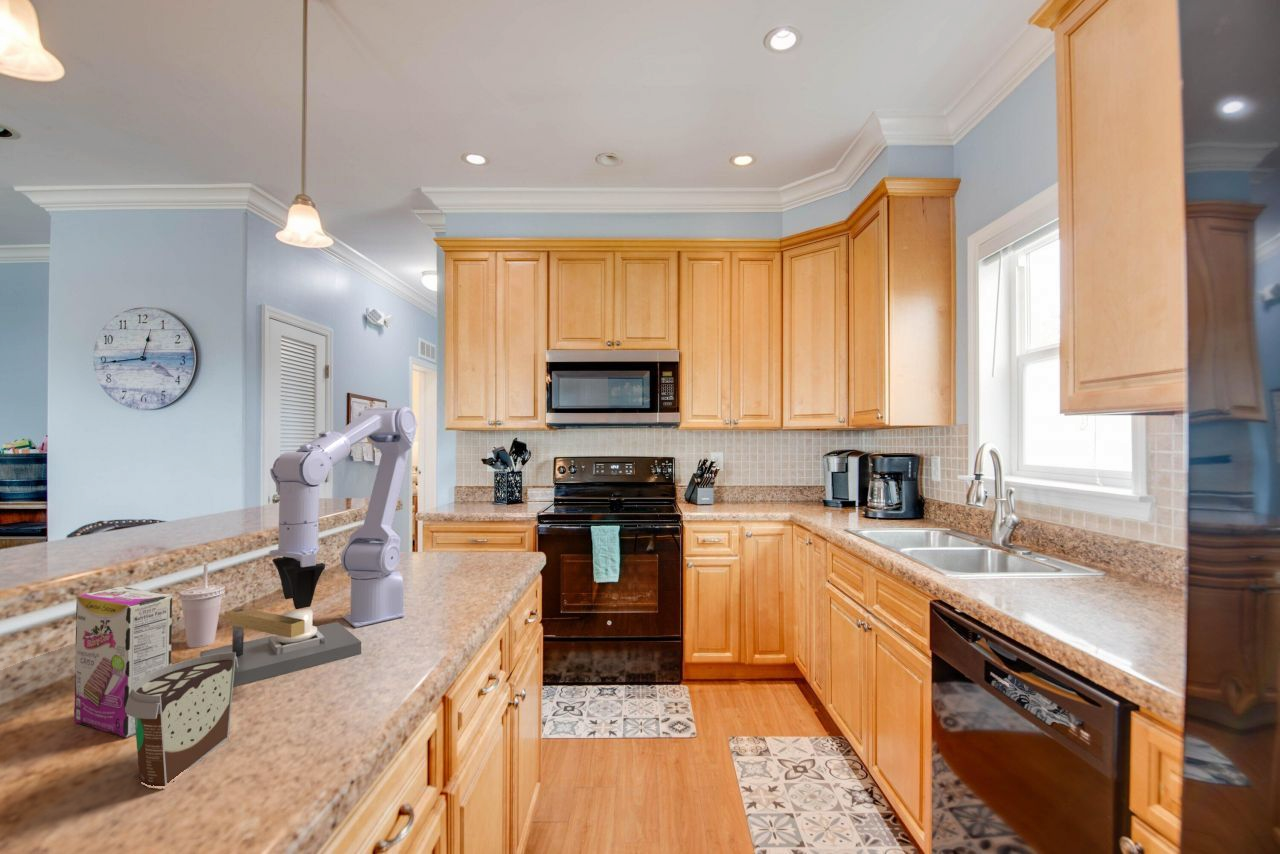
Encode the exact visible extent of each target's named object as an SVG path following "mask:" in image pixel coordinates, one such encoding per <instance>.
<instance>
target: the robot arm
mask: <svg viewBox="0 0 1280 854" xmlns="http://www.w3.org/2000/svg"><path fill="white" fill-rule="evenodd" d="M417 421H418V420H417V419H416V416H415V413H414V411H413V409H411V407H409V406H401V407H373V406H372V407H370V406H369V407H366V408H365V409H363V410H361V411H359V412H358V416H357V417H356V418H354V419H353V420H352V421H351V422H350V423H348V424H347V425H345V426H344V427H343V428H342V429H340V430H339V431H334V430H322V431H321V432H318V436H317V438H315V439H313V440H311V441H310V442H308V443H303V444H301V445H300V446H299V448H298V449H297V450H296V451H287V452H284V453H282V454H280V456H278V457H277V458H276V459H275V461H274V463H273V465H272V468H270V469H269V470H270V472H269V473H270V476H271V478H272V480H273V482H274V483H275V493H277V495H278V496H279V498H278V501H279V505H278V545H277V549H271V550H269V552H268V553H269V556H270V557H274V558H273V559H272V563H273V564H274V566H275V568H276V570H277V573H278V575H279V579H280V583H281V588H282V593H283V598H284V599H285V600H290V599H292V602H293V607H294V609H295V610H302V609H306V608H310V607H311V605H312V602H313V600H314V595H315V590H316V587H317V585H318V582H319V579H320V577H321V575H322V574H323V572H324V570H325V568H326V564H325V563H323V562H321V563H317V554H319V552H320V546H319V524H320V520H319V517H320V516H319V515H320V514H319V513H320V512H319V511H320V484H322V483H324V482H325V481H326V479H327V477H328V475H329V472H330V471H331V470H332V468H333V467H335V466H336V465H338V463H340V462H341V461H343V460H344V459H346V458H347V457H348V456H350V454H351V450H352V449H351V447H353V446H354V445H356V444H358V443H359V442H361V441H363V440H364V439H366V438H367V440H368V442H370V443H371V445H372V446H373V448H375V449H377V450H379V451H380V453H381V455H380V459H379V463H378V466H377V471H376V476H375V480H374V483H373V487H372V491H371V495H370V499H369V502H368V507H367V511H366V512H365V513H366V514H365V518H364V521H363V524H362V526H360V527H359V528H357V529H356V530H355V531H353V532H352V533H350V536H349V539H348V541H347V543H346V545H345V546H344V548H343V550H342V552H341V557H340V562H341V567H342V569H343V570H344V571H345V572H347V577H350V605H349V608H350V612H349V614H346V615H343V618H342V619H344V620H345V621H347V622H348V623H349V624H350V625H352V627H354V628H358V627H364V626H367V625H373V624H377V623H381V622H385V621H389V620H394V619H399V618H403V617H405V616H406V615H405V613H404V597H405V596H404V595H405V594H404V592H405V591H404V589H405V588H404V586H405V585H404V579H403V575H402V573H401V572H400V571H399V570H396V569H397V568H398V566H399V563H400V560H401V541H402V539H401V537H400V536H399V535H398V534H397V533H396V532H395V531H394V529H392V526H393V523H394V518H395V513H396V510H397V504H398V501H399V498H400V497H399V496H400V493H401V489H402V485H403V479H404V476H405V473H406V468H407V463H408V459H409V455H410V449H412V448H413V444H414V440H415V436H416V432H417V428H418V422H417ZM277 556H278V557H277ZM275 557H276V558H275Z"/></svg>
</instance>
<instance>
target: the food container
mask: <svg viewBox="0 0 1280 854" xmlns="http://www.w3.org/2000/svg"><path fill="white" fill-rule="evenodd" d="M235 668H238V661H237V657H236V652H232V653H221V654H214V655H208V656H202V657H200V656H198V657H193V658H191V659H185V660H183V661H179V662H176V663H173V664H172V663H171V665H169V666H166V667H163V668H161V669H158V670H156V671H154V672H152V673H150V674H148V675H146V676H144V677H143V678H141V679H140V680H138V681H137V682H136V683H135V685H134V687H133V689H132V690H131V692H130V694H129V697H128V700H127V704H126V707H125V712H126V713H127V714H128V715H130V716H132V717H134V718H135V730H136V735H135V740H136V751H137V752H136V753H137V763H138V765H137V766H138V773H139V774H138V775H139V781H140V780H141V782H143V783H145V784H147V785H151V786H153V785H154V786H166V785H167V783H169V782H170V781H171V780H172V779H174V778H175V777H176V776H178V775H179V774H180V773H181V772H183V771H184V770H186V769H189V768H190V767H192V766H193V765H195V764H196V763H197V762H199V761H200V760H201V759H202V758H204V757H205V756H206V755H207V756H208V754H209V753H210V754H211V753H212V752H214V751H215V750H216V749H218V748H219V747H220V746H221V745H222V744H223V743H224V742H226V741H227V740H228V739H229V736H230V724H231V715H232V713H231V711H232V702H233V700H232V699H233V692H234V691H233V689H234V687H233V681H234V670H235ZM213 750H214V751H213ZM210 754H209V755H210ZM207 756H206V757H207ZM206 757H205V758H206ZM202 760H203V759H202ZM202 760H201V761H202ZM201 761H200V762H201ZM200 762H199V763H200ZM197 764H198V763H197ZM197 764H196V765H197ZM196 765H195V766H196ZM192 768H193V767H192Z"/></svg>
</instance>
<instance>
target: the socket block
mask: <svg viewBox="0 0 1280 854" xmlns="http://www.w3.org/2000/svg"><path fill="white" fill-rule="evenodd" d="M316 627H317V634H316V635H315V636H314V637H312V639H309V640H305V641H301V642H296V643H292V644H288V645H283V646H282V645H281V642H277V641H276V635H275V634H274V635H271V636H266V637H261V638H256V639H252V640H247V641H243V655H241V656H237V661H238V668H235V670H234V681H233V688H234V687H240V686H243V685H247V684H250V683H254V682H258V681H259V682H260V681H262V680H266V679H270V678H274V677H277V676H280V675H285V674H289V673H292V672H296V671H300V670H303V669H304V670H305V669H308V668H312V667H316V666H320V665H324V664H327V663H330V662H335V661H338V660H342V659H346V658H349V657H354V656H358V655H361V654H362V641H361V640H360V639H359V638H357V636H356V635H354V634H353V633H351V632H350V631H349V630H348V629H347V628H346V627H345V626H344V625H342V624H341V623H340V622H339V621H336V622H330V623H327V624H321V625H317V626H316ZM221 653H232V644H229V645H224V646H221V647H220V646H219V647H214V648H211V649H207V650H205V649H204V650H201V651H200V654H199V657H202V656H208V655H214V654H221Z"/></svg>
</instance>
